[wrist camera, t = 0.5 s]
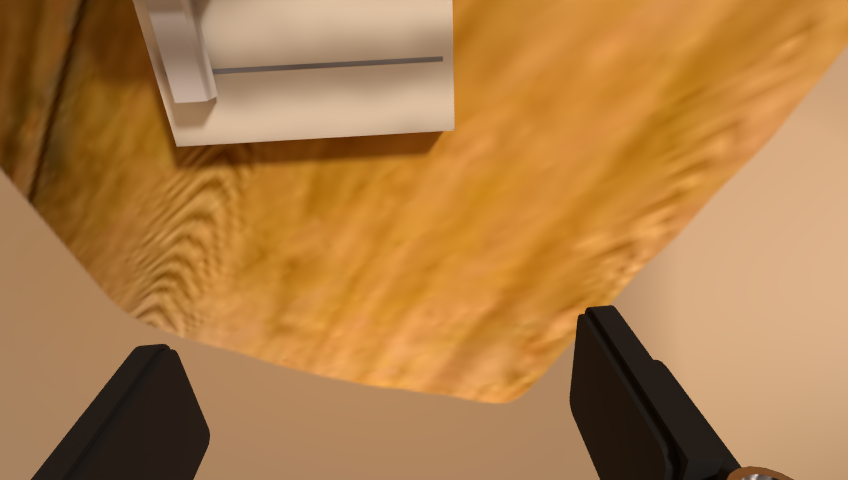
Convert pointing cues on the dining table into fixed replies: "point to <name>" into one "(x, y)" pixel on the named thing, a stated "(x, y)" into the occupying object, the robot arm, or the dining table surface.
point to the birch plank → (315, 70)
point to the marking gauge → (182, 49)
